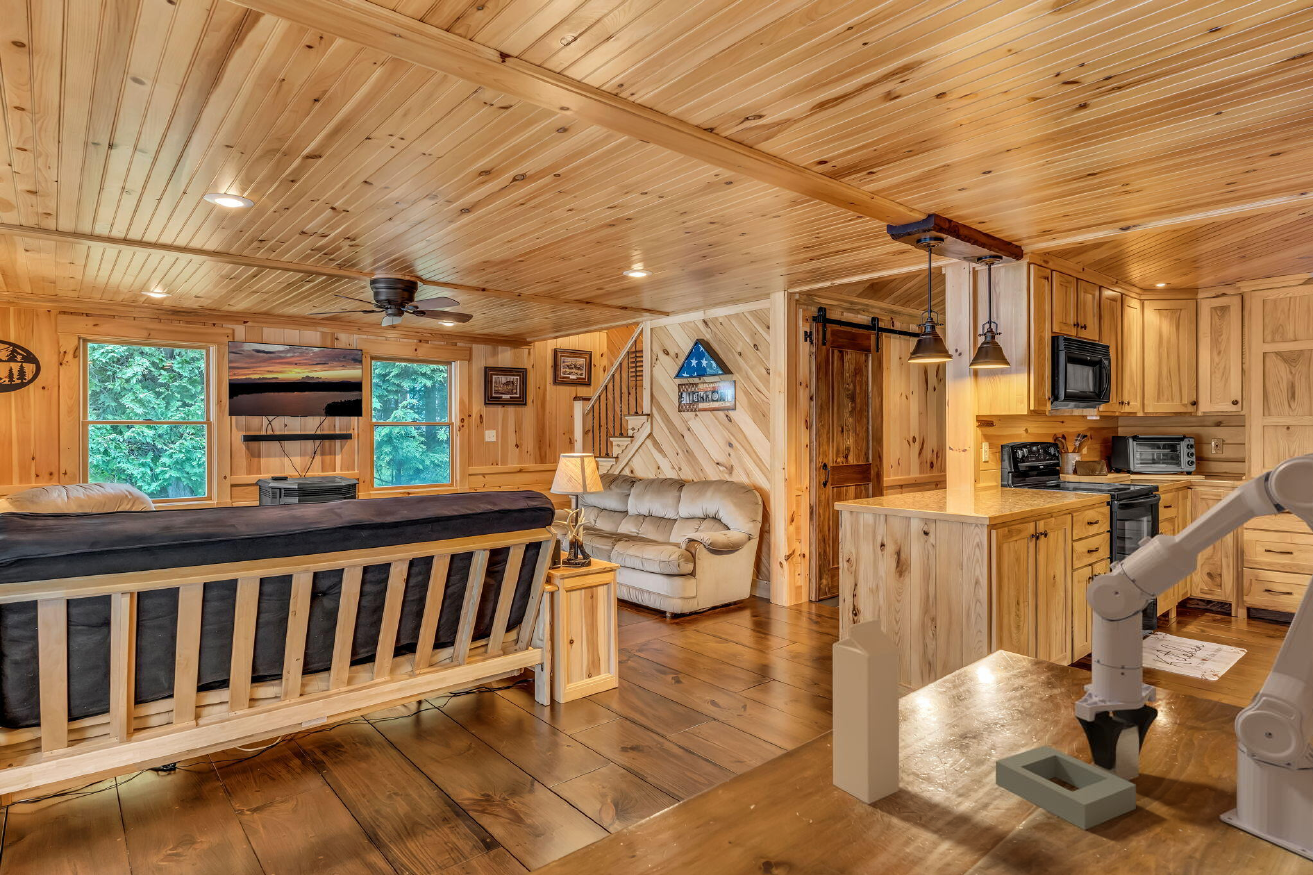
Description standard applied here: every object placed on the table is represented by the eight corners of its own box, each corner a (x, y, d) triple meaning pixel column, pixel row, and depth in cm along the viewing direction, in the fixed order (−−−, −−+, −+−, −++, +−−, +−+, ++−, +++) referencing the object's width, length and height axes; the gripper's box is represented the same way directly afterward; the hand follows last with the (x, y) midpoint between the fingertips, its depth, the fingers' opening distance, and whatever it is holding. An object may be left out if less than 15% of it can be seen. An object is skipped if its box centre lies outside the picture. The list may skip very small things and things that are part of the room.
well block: (1135, 808, 88) (1135, 784, 88) (1084, 829, 84) (1084, 804, 84) (1045, 766, 99) (1045, 744, 99) (995, 783, 94) (995, 761, 94)
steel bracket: (1138, 776, 96) (1139, 725, 96) (1115, 785, 94) (1116, 732, 94) (1101, 760, 100) (1101, 711, 100) (1078, 768, 98) (1079, 718, 98)
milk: (899, 791, 93) (900, 623, 92) (867, 805, 90) (869, 631, 89) (862, 771, 98) (863, 612, 97) (831, 784, 95) (832, 619, 94)
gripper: (1119, 645, 103) (1118, 738, 103) (1053, 661, 96) (1053, 760, 97) (1172, 660, 96) (1171, 759, 97) (1106, 678, 90) (1105, 784, 90)
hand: (1116, 761), depth 96 cm, fingers closed on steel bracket, 5 cm apart
